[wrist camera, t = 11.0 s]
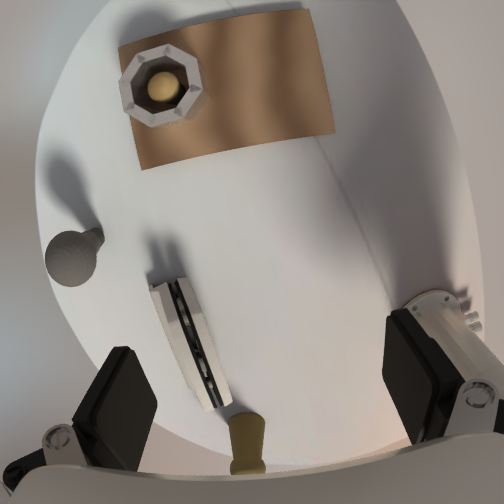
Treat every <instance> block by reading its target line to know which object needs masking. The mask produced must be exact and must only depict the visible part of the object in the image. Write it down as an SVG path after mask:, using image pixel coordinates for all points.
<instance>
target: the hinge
mask: <svg viewBox="0 0 504 504" xmlns="http://www.w3.org/2000/svg"><path fill="white" fill-rule="evenodd" d="M177 280H178V281H177V282H175V285H176V288H177V292H178V295H179V297H178V298H177V299H176V297H175V294H174V291H173V288H172V286H171V284H168V285H167V282H164V283H163V284H161V285H159V286H157V287H155V288H153V285H152V284H151V285H149V291H150V294H151V297H152V299H153V302H154V305H155V307H156V310H157V313H158V315H159V318H160V321H161V323H162V326H163V328H164V331H165V333H166V336H167V338H168V341H169V343H170V346H171V348H172V350H173V353H174V355H175V358H176V360H177V362H178V365H179V367H180V369H181V371H182V374H183V376H184V378H185V380H186V383H187V385H188V387H189V388H191V389H195V391H196V394H197V396H198V398H199V400H200V402H201V404H202V406H203V408H204V410H205V412H208V411H214V410H215V409H214V408H217V405H216V403H215V400H214V398H213V395H212V393H211V391H210V388H213V390H214V392H215V395H216V397H217V399H218V401H219V403H220V406H222V405H224V406H227V405H229V404H230V403H232V402H233V401H232V397H231V394H230V391H229V388H228V385H227V382H226V379H225V376H224V373H223V370H222V367H221V364H220V361H219V358H218V355H217V353H216V350H215V347H214V344H213V341H212V338H211V335H210V332H209V330H208V327H207V324H206V321H205V318H204V315H203V312H202V310H201V307H200V305H199V303H198V301H197V298H196V296H195V294H194V292H193V290H192V287H191V285H190V283H189V281H188V278H187V277H182V278H177ZM187 326H191V329H192V332H193V335H194V337H195V340H196V343H197V346H198V349H196V350H194V347H193V344H192V342H191V339H190V336H189V334H188V331H187V328H186V327H187ZM206 371H207V376H208V377H205V376H204V373H203V372H206Z"/></svg>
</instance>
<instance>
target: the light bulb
mask: <svg viewBox="0 0 504 504" xmlns="http://www.w3.org/2000/svg"><path fill="white" fill-rule="evenodd" d="M104 240H105V238H104V234H103V233H102V231H101V230H99V229H97V228H93V229H91V230H89V231H85V232H83V233H80V232H76V231H65V232H61V233H59V234H58V235H56V236H55V237H54V238H53V239H52V240H51V241H50V243H49V245H48V247H47V249H46V252H45V264H46V268H47V271H48V273H49V275H50V276H51V277H52V279H54V280H55V281H56V282H57V283H59V284H61V285H63V286H67V287H75V286H79V285H81V284H83V283H85V282H86V281H87V280H89V278H90V277H91V276H92V274H93V272H94V270H95V267H96V254H97V252H98V251H99V249H100V247H101V246H102V244H103V243H104Z"/></svg>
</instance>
